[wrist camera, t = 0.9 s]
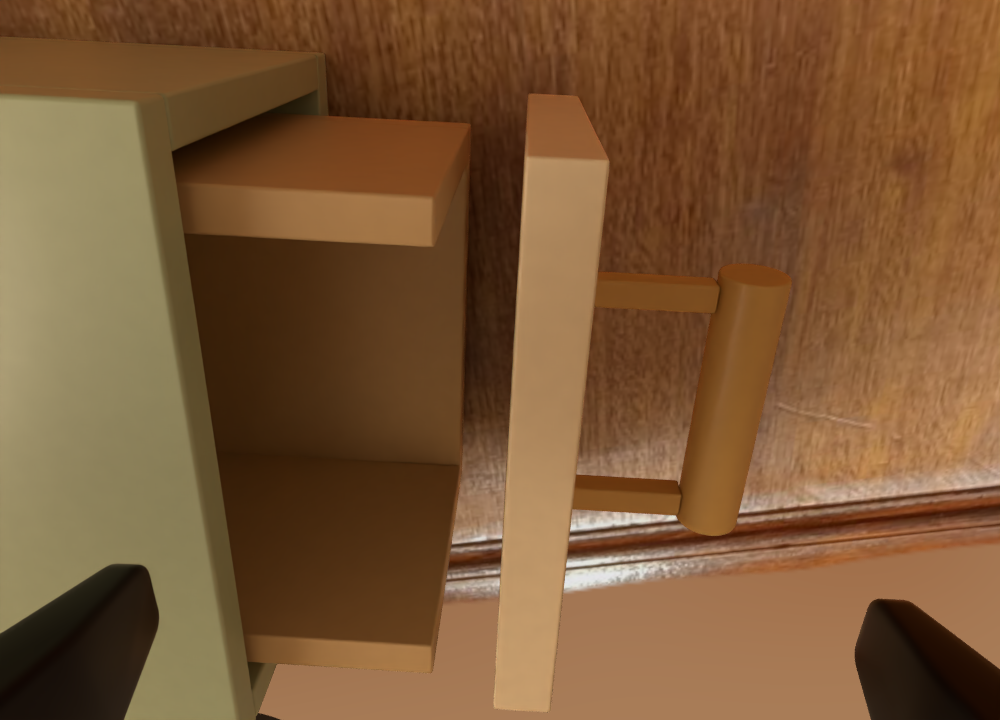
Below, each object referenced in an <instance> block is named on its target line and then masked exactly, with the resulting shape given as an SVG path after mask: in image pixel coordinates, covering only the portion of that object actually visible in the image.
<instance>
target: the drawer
mask: <svg viewBox="0 0 1000 720" xmlns="http://www.w3.org/2000/svg"><path fill="white" fill-rule="evenodd" d="M470 148H471V125H470V124H468V123H454V122H435V121H415V120H396V119H377V118H358V117H339V116H320V115H300V114H281V113H262V114H259V115H257V116H255V117H252V118H250V119H247V120H245V121H243V122H240V123H238V124H236V125H233V126H231V127H228V128H226V129H224V130H221V131H219V132H216V133H214V134H212V135H209V136H207V137H205V138H202V139H200V140H197V141H195V142H193V143H190V144H188V145H186V146H183V147H181V148H178V149H176V150H174V151H171V152H172V158H173V165H174V172H175V178H176V185H177V192H178V199H179V205H180V212H181V219H182V226H183V232H184V239H185V246H186V253H187V259H188V266H189V273H190V279H191V286H192V293H193V300H194V306H195V313H196V320H197V327H198V333H199V340H200V347H201V354H202V360H203V367H204V374H205V381H206V387H207V394H208V401H209V407H210V414H211V421H212V428H213V434H214V441H215V448H216V455H217V461H218V468H219V475H220V482H221V488H222V495H223V502H224V508H225V515H226V522H227V529H228V535H229V542H230V549H231V556H232V562H233V569H234V576H235V583H236V589H237V596H238V603H239V609H240V616H241V623H242V630H243V636H244V643H245V650H246V657H247V662H260V663H276V664H293V665H308V666H324V667H339V668H356V669H371V670H388V671H404V672H419V673H432V671H433V666H434V660H435V653H436V646H437V639H438V631H439V625H440V619H441V612H442V605H443V598H444V592H445V585H446V578H447V571H448V564H449V558H450V551H451V544H452V537H453V530H454V524H455V517H456V510H457V503H458V496H459V489H460V482H461V475H462V453H463V415H464V377H465V339H466V301H467V262H468V224H469V186H470ZM609 166H610V162H609V159H608V157H607V155H606V153H605V151H604V149H603V147H602V145H601V143H600V141H599V139H598V137H597V135H596V133H595V130H594V128H593V126H592V124H591V122H590V120H589V118H588V116H587V114H586V112H585V110H584V108H583V106H582V104H581V102H580V100H579V97H578V96H569V95H550V94H528V102H527V119H526V136H525V153H524V171H523V188H522V205H521V222H520V240H519V257H518V274H517V291H516V309H515V326H514V343H513V360H512V378H511V395H510V412H509V429H508V447H507V464H506V481H505V499H504V518H503V536H502V555H501V573H500V592H499V611H498V629H497V630H498V631H497V648H496V649H497V650H496V666H495V686H494V704H493V706H494V708H495V709H504V710H520V711H536V712H550V709H551V700H552V691H553V681H554V673H555V663H556V654H557V644H558V636H559V626H560V617H561V608H562V599H563V590H564V581H565V571H566V562H567V553H568V544H569V535H570V525H571V516H572V509H578V510H595V511H612V512H629V513H645V514H662V515H676V517H677V519H678V520H679V521H680V523H682V524H683V525H684V526H685V527H687V528H688V529H690V530H692V531H694V532H697V533H700V534H703V535H710V536H718V535H724V534H727V533H729V532H730V531H732V530H733V529H734V527H735V525H736V522H737V518H738V513H739V509H740V505H741V500H742V496H743V492H744V487H745V483H746V479H747V475H748V470H749V466H750V462H751V457H752V453H753V449H754V444H755V440H756V436H757V431H758V427H759V423H760V419H761V414H762V410H763V406H764V401H765V397H766V393H767V388H768V384H769V380H770V375H771V371H772V367H773V363H774V358H775V354H776V350H777V345H778V341H779V337H780V332H781V328H782V324H783V319H784V315H785V311H786V307H787V302H788V298H789V294H790V289H791V285H792V280H791V278H790V276H788V275H787V274H786V273H784V272H782V271H779V270H777V269H774V268H770V267H766V266H762V265H756V264H730V265H726V266H723V267H722V268H721V269H720V270H719V273H718V279H717V282H716V280H715V279H714V278H709V277H690V276H672V275H654V274H636V273H618V272H600V271H598V267H599V258H600V249H601V240H602V231H603V221H604V212H605V203H606V194H607V185H608V175H609ZM594 307H603V308H621V309H638V310H656V311H674V312H692V313H710V314H711V316H710V322H709V327H708V333H707V338H706V344H705V349H704V354H703V360H702V365H701V371H700V376H699V381H698V387H697V392H696V398H695V403H694V409H693V414H692V419H691V425H690V430H689V436H688V441H687V447H686V452H685V457H684V463H683V468H682V474H681V479H680V484H679V485H678V482H677V481H675V480H658V479H641V478H624V477H607V476H590V475H576V470H577V461H578V452H579V442H580V433H581V424H582V415H583V406H584V396H585V387H586V378H587V369H588V360H589V350H590V341H591V332H592V323H593V313H594Z"/></svg>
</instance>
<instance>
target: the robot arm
mask: <svg viewBox="0 0 1000 720" xmlns="http://www.w3.org/2000/svg"><path fill="white" fill-rule="evenodd" d="M158 625H159V610H158V606H157V602H156V598H155V594H154V590H153V586H152V582H151V578H150V574H149V571H148V570H147V568H146V567H145V566H143V565H140V564H120V563H116V564H111V565H108V566H106V567H104V568H103V569H101V570H100V571H98V572H96V573H95V574H93V575H92V576H90V577H89V578H87V579H85V580H84V581H82V582H81V583H79V584H78V585H76V586H74V587H73V588H71V589H70V590H68V591H67V592H65V593H63V594H62V595H60V596H59V597H57V598H55V599H54V600H52V601H51V602H49V603H48V604H46V605H44V606H43V607H41V608H40V609H38V610H37V611H35V612H33V613H32V614H30V615H29V616H27V617H25V618H24V619H22V620H21V621H19V622H18V623H16V624H14V625H13V626H11V627H10V628H8V629H7V630H5V631H3V632H2V633H0V720H124V718H125V716H126V713H127V710H128V708H129V705H130V702H131V700H132V697H133V695H134V692H135V689H136V687H137V684H138V681H139V679H140V676H141V673H142V671H143V668H144V665H145V663H146V660H147V657H148V655H149V652H150V649H151V647H152V644H153V641H154V639H155V636H156V633H157V630H158ZM855 662H856V668H857V671H858V675H859V679H860V682H861V685H862V689H863V693H864V696H865V700H866V703H867V707H868V710H869V714H870V717H871V720H1000V669H999V668H997V667H996V666H995V665H993V664H992V663H991V662H990V661H988V660H987V659H986V658H984V657H983V656H982V655H980V654H979V653H978V652H976V651H975V650H974V649H972V648H971V647H970V646H969V645H967V644H966V643H965V642H963V641H962V640H961V639H959V638H958V637H957V636H955V635H954V634H953V633H951V632H950V631H949V630H947V629H946V628H945V627H944V626H942V625H941V624H940V623H938V622H937V621H936V620H934V619H933V618H932V617H930V616H929V615H928V614H926V613H925V612H924V611H922V610H921V609H920V608H918V607H917V606H916V605H914V604H913V603H911V602H909V601H905V600H895V599H876V600H874V601H872V602H871V603H870V605H869V607H868V609H867V612H866V615H865V618H864V621H863V624H862V627H861V630H860V634H859V637H858V640H857V643H856V647H855Z"/></svg>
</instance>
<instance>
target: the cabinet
mask: <svg viewBox="0 0 1000 720" xmlns="http://www.w3.org/2000/svg"><path fill="white" fill-rule="evenodd" d="M262 113H281V114H300V115H320V116H329V115H328V97H327V79H326V61H325V54H324V53H320V52H301V51H281V50H261V49H242V48H222V47H202V46H183V45H163V44H144V43H124V42H104V41H85V40H65V39H45V38H26V37H6V36H0V633H2V632H3V631H5V630H7V629H8V628H10V627H11V626H13V625H14V624H16V623H18V622H19V621H21V620H22V619H24V618H25V617H27V616H29V615H30V614H32V613H33V612H35V611H37V610H38V609H40V608H41V607H43V606H44V605H46V604H48V603H49V602H51V601H52V600H54V599H55V598H57V597H59V596H60V595H62V594H63V593H65V592H67V591H68V590H70V589H71V588H73V587H74V586H76V585H78V584H79V583H81V582H82V581H84V580H85V579H87V578H89V577H90V576H92V575H93V574H95V573H96V572H98V571H100V570H101V569H103V568H104V567H106V566H108V565H111V564H116V563H120V564H140V565H143V566H145V567H146V568H147V570H148V571H149V574H150V578H151V582H152V586H153V590H154V594H155V598H156V602H157V606H158V610H159V625H158V630H157V633H156V636H155V639H154V641H153V644H152V647H151V649H150V652H149V655H148V657H147V660H146V663H145V665H144V668H143V671H142V673H141V676H140V679H139V681H138V684H137V687H136V689H135V692H134V695H133V697H132V700H131V702H130V705H129V708H128V710H127V713H126V716H125V718H124V720H256V718H255V716H257V714H258V712H259V709H260V707H261V704H262V701H263V699H264V696H265V694H266V691H267V688H268V686H269V683H270V681H271V678H272V675H273V673H274V670H275V668H276V665H277V664H276V663H260V662H247V657H246V650H245V643H244V636H243V630H242V623H241V616H240V609H239V603H238V596H237V589H236V583H235V576H234V569H233V562H232V556H231V549H230V542H229V535H228V529H227V522H226V515H225V508H224V502H223V495H222V488H221V482H220V475H219V468H218V461H217V455H216V448H215V441H214V434H213V428H212V421H211V414H210V407H209V401H208V394H207V387H206V381H205V374H204V367H203V360H202V354H201V347H200V340H199V333H198V327H197V320H196V313H195V306H194V300H193V293H192V286H191V279H190V273H189V266H188V259H187V253H186V246H185V239H184V232H183V226H182V219H181V212H180V205H179V199H178V192H177V185H176V178H175V172H174V165H173V158H172V152H171V151H174V150H176V149H178V148H181V147H183V146H186V145H188V144H190V143H193V142H195V141H197V140H200V139H202V138H205V137H207V136H209V135H212V134H214V133H216V132H219V131H221V130H224V129H226V128H228V127H231V126H233V125H236V124H238V123H240V122H243V121H245V120H247V119H250V118H252V117H255V116H257V115H259V114H262Z"/></svg>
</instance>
